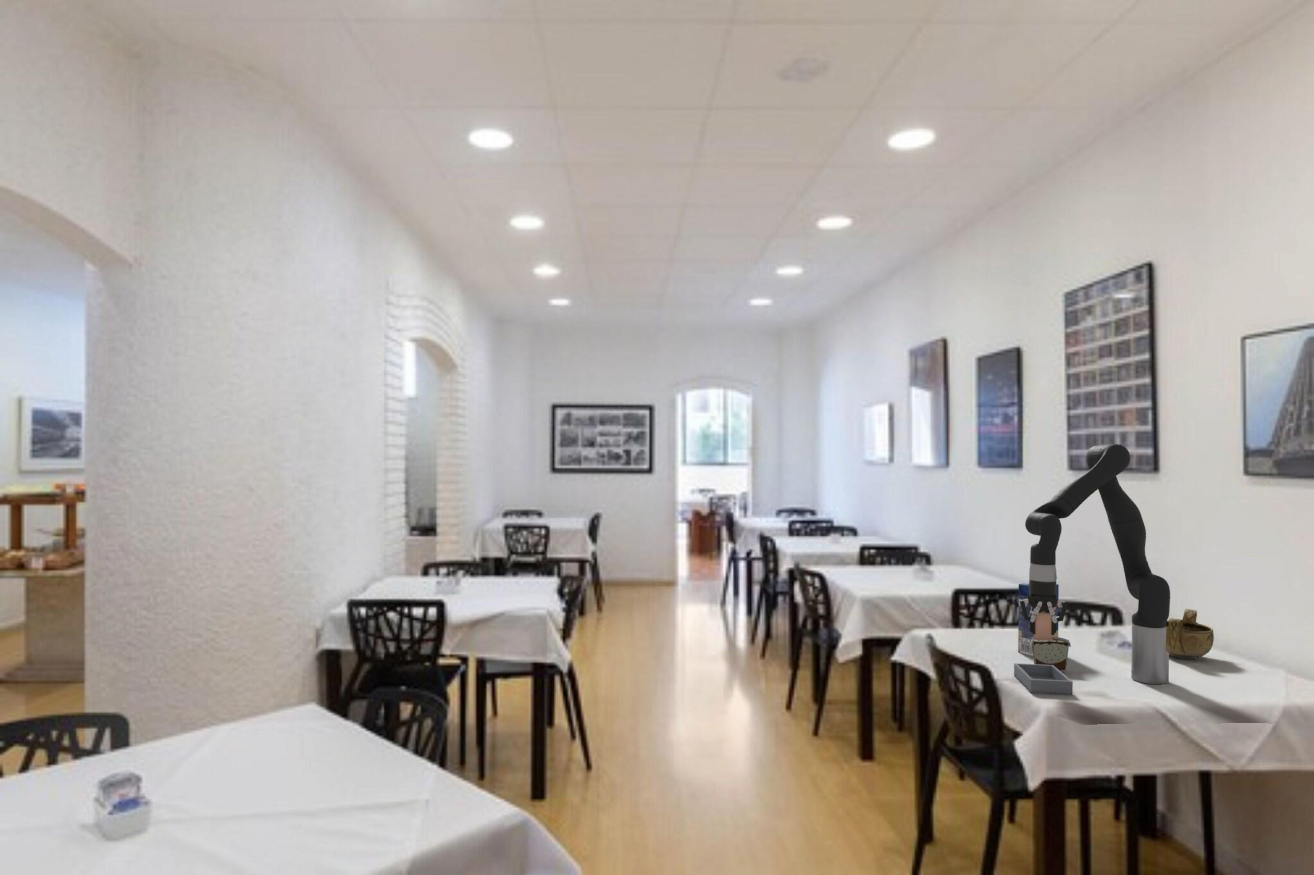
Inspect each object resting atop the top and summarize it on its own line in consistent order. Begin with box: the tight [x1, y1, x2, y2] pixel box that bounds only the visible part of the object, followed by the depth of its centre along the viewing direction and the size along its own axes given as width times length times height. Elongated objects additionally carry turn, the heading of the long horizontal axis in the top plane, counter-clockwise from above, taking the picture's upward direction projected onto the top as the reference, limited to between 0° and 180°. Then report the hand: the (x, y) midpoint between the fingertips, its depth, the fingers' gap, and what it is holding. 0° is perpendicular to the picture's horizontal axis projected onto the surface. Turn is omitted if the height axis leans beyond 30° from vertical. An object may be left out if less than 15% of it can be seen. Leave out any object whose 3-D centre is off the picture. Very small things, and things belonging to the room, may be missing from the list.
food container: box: [1030, 636, 1072, 672], centre depth 267 cm, size 12×6×10 cm, turn 84°
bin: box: [1013, 662, 1074, 696], centre depth 248 cm, size 12×18×4 cm, turn 171°
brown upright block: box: [1033, 612, 1052, 641], centre depth 248 cm, size 5×5×8 cm
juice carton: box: [1017, 582, 1060, 657], centre depth 286 cm, size 12×8×24 cm, turn 121°
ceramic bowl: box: [1166, 608, 1215, 660], centre depth 281 cm, size 22×17×15 cm
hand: (1042, 633), depth 249 cm, fingers closed on brown upright block, 5 cm apart
